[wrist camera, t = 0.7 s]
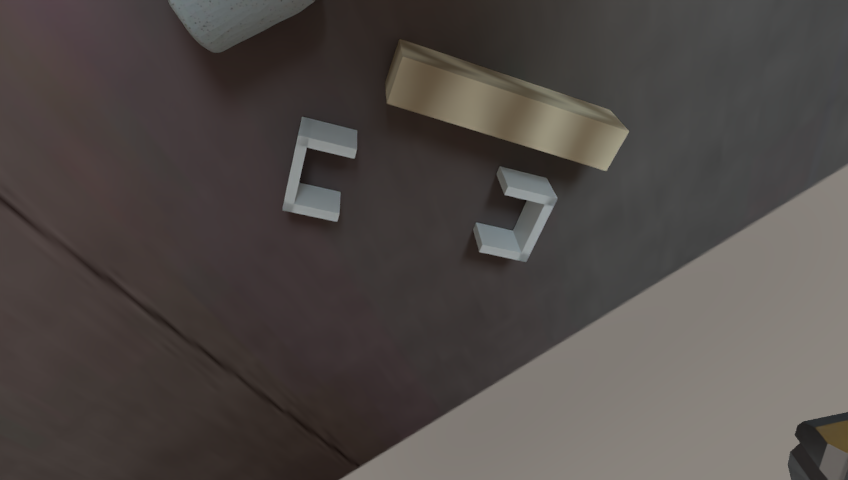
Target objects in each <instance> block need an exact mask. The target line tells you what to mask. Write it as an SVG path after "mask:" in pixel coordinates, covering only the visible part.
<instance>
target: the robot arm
mask: <svg viewBox="0 0 848 480" xmlns="http://www.w3.org/2000/svg"><path fill="white" fill-rule="evenodd" d="M795 436H796V437H797V439H798V440H799V442H800V444H799V445H797V446H796V447H795V448H794V449H793V450H792V451H791V452H790V456H789V461H788V467H789V472H790V476H791V480H848V412H846V413H842V414H837V415H832V416H827V417H822V418H818V419H813V420H808V421H804V422H802V423H801V424H799V425H798V426H797V429H796V433H795Z"/></svg>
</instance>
